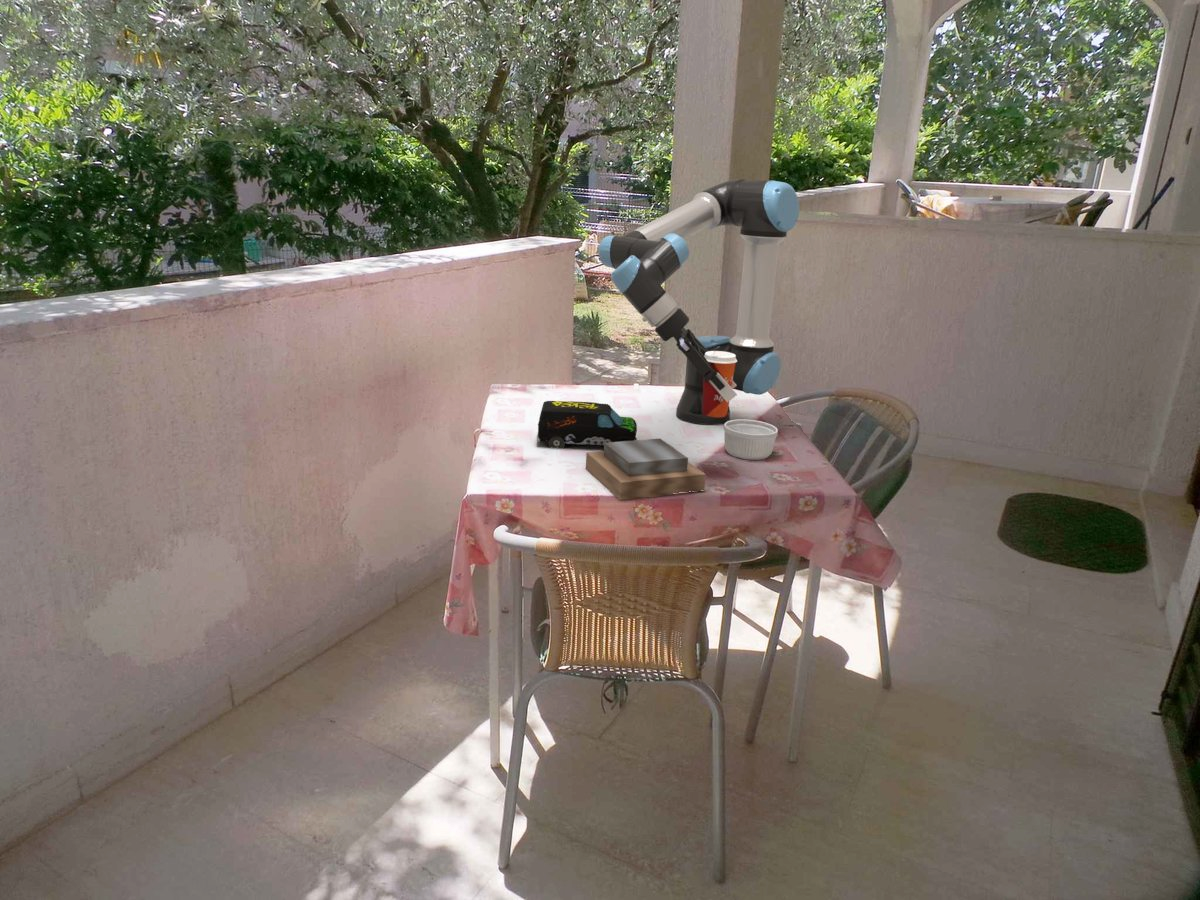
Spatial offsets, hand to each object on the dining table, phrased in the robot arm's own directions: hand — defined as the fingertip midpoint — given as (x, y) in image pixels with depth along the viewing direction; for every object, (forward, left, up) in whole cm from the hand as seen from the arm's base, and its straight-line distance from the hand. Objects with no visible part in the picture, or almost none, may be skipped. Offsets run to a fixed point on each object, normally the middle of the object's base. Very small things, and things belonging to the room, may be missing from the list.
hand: (732, 393), depth 193 cm
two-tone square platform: (+21, 0, -19) cm, 28 cm away
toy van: (+24, -27, -19) cm, 41 cm away
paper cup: (+3, -2, -5) cm, 6 cm away
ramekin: (-13, -11, -19) cm, 25 cm away
